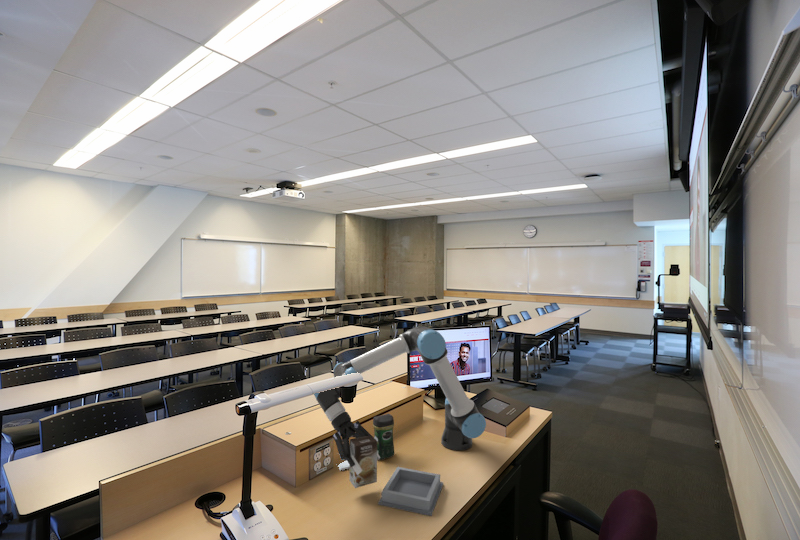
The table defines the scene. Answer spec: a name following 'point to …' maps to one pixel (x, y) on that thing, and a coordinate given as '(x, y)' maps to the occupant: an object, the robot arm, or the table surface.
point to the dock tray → (412, 491)
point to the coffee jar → (384, 435)
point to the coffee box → (364, 460)
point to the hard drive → (344, 465)
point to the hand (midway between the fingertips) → (369, 466)
